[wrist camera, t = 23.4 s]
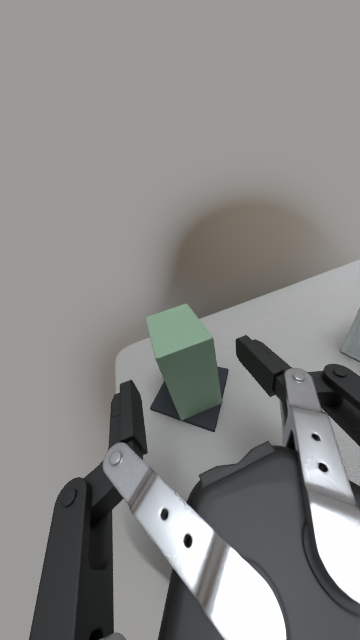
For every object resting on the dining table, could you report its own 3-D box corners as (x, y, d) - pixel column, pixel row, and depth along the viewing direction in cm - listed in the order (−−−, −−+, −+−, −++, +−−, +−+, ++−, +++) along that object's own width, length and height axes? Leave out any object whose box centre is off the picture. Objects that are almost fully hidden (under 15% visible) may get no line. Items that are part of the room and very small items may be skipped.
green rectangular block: (222, 403, 19) (213, 337, 14) (181, 421, 19) (155, 358, 13) (199, 361, 25) (186, 303, 20) (167, 373, 25) (145, 316, 19)
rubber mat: (214, 432, 18) (214, 430, 17) (150, 409, 21) (149, 407, 21) (228, 370, 23) (228, 368, 23) (176, 361, 27) (176, 359, 27)
